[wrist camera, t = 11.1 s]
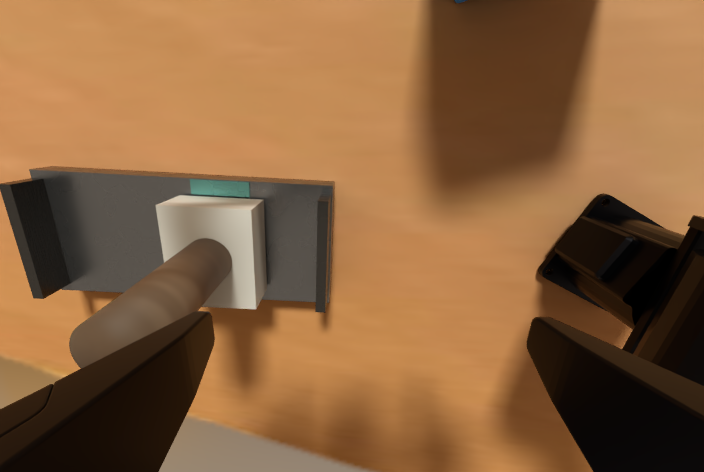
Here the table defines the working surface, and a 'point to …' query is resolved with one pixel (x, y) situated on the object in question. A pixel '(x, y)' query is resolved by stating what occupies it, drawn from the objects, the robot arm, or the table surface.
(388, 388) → the table surface
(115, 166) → the table surface
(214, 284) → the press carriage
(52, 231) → the rail
